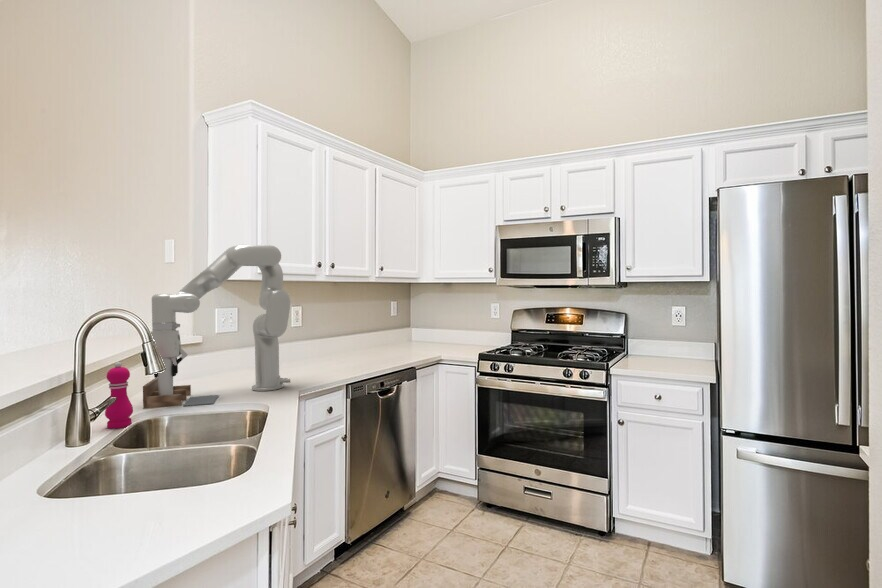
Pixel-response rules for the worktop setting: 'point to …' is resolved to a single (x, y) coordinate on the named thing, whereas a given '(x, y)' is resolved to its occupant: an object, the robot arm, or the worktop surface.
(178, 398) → the lane rack
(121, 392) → the pepper mill
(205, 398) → the rubber mat
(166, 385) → the bottle
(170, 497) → the worktop surface
